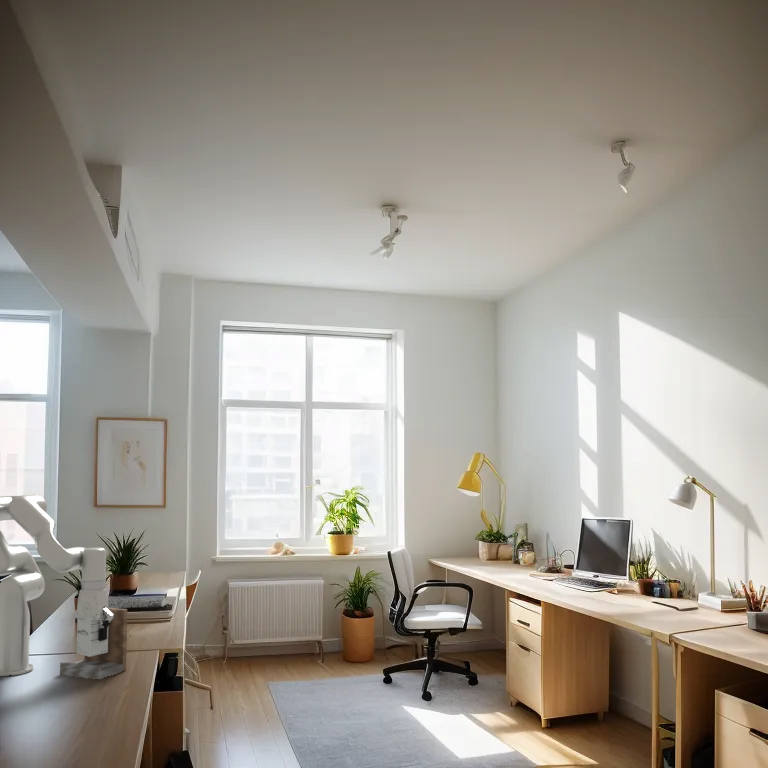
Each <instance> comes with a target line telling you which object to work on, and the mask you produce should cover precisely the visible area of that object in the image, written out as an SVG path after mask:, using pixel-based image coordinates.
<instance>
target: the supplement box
mask: <svg viewBox="0 0 768 768" xmlns="http://www.w3.org/2000/svg"><path fill="white" fill-rule="evenodd" d="M104 617H107V616H106V615H105V614H104V615H102V618H104ZM106 620H107V619H106ZM102 623H104V620H103V621H102ZM76 628H77V629H76V655H81V656H84V657H85V656H88V657H90V656H95V655H99V654H103V653H107V652H108V627H107V639H106V640H103V641H99V640H98V634H99V629H100V626H99V624H98V621H97V622H94V617H92V616H79V615H78V616H77V623H76Z"/></svg>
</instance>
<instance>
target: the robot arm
mask: <svg viewBox="0 0 768 768" xmlns="http://www.w3.org/2000/svg"><path fill="white" fill-rule="evenodd" d="M47 509H48V503H47V501H46V500H45V499H44V497H42V496H40V495H38V494H25V495H24V494H23V495H5V496H4V495H3V496H0V521H11V520H12V521H15V522H16V523H17V524H18V525H19V526H20V527H21V528H22V529H23V530H24V531H25V532H26V533H27V534H28V535H29V536H30V537H31V538H32V539H33V540H34V545H35V546H34V547H35V548H36V551H37V554H38V555H39V556H40V557H41V559H42V560H43V561H44V562H45V563H46V564H47V565H48V566H49V567H50V568H52V569H53V570H54V571H57V572H58V573H68V572H71V571H77V570H81V582H80V586H81V589H80V590H79V591H78V592H79V593H78V597H77V603H76V610H75V611H73V612H72V615H73V617H74V620H75V622H76V624H77V616H78V615H79V616H92V617H94V622H97V621H98V624H99V626H100V629H99V634H98V640H99V641H103V640H106V639H107V627H109V624H110V623H111V621H112V619H113V617H114V615H113V614H112V613H111V612H110V611H109V610H108V608H109V598H108V597H109V596H108V592H107V591H108V590H107V589H106V588H107V587H106V586H107V585H106V582H107V580H106V579H107V576H106V575H107V550H106V549H105V547H104V548H103V547H84V546H75V547H73V546H72V547H69V548H64V546H63V545H62V544H60V543H59V542H58V540H57V539H56V538H55V536H54V534H53V532H54V530H55V528H56V522H55V520H54V519H52V518H51V516H50V515H48V514H47ZM8 575H11V576H8ZM2 576H3V577H4V576H8V577H5V578H4V579H3V580H2V581H1V582H0V677H10V676H9V675H12V676H17V675H23V674H26V673H29V672H32V671H33V670H34V665H33V664H31V663H30V661H29V660H30V659H29V658H30V655H29V654H30V632H31V631H30V630H31V614H30V608H29V605H28V602H29V601H32V600H36V599H38V598H39V597H40V596H41V595H42V594H43V593H44V591H45V589H46V588H45V587H46V583H45V579H44V576H43V574H42V571H41V570H40V568H39V566H38V564H37V563H36V560H35V558H34V557H33V555H32V553H31V552H30V550H28V548H27V547H25V546H22V545H18V544H17V545H15V544H14V545H10V544H9V542H8V541H7V540H6V537H5V536H4V533H3V532H2V531H1V530H0V577H2ZM104 614H105V615H106V616H107V617H104V618H102V615H104ZM106 619H107V620H106ZM103 620H104V623H102V621H103Z"/></svg>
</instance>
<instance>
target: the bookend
mask: <svg viewBox="0 0 768 768" xmlns="http://www.w3.org/2000/svg"><path fill="white" fill-rule="evenodd" d="M108 610H109V611H110V612H111V613H112V614H113V615H114V617H113V619H112V621H111V623H110V624H109V627H108V652H107V653H103V654H99V655H95V656H90V657H88V656H85V655H84V659H82V660H79V661H76V662H71V661H70V662H69V661H68V662H67V661H61V662H59V664H60V665H59V675H60V676H64V675H67V677H72V676H77V677H76V678H80V677H85V678H84V679H88V678H95V679H100V680H102V679H101V678H103V677H106V676H109V675H112V674H115V673H118V674H120V673H119V672H121V673H123V672H122V671H124V672H126V671H127V644H128V643H127V641H128V637H127V636H128V609H127V608H118V607H117V608H114V607H108ZM125 670H126V671H125ZM115 675H116V674H115ZM112 676H113V675H112ZM109 677H110V676H109ZM106 678H107V677H106ZM95 679H94V680H95ZM103 679H104V678H103Z"/></svg>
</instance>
